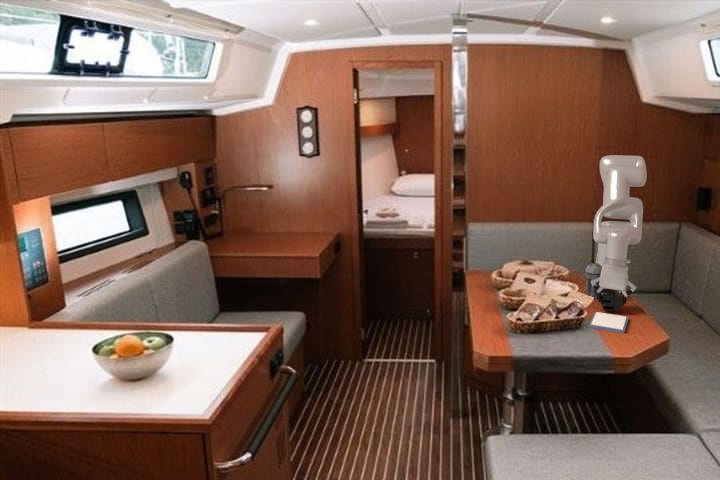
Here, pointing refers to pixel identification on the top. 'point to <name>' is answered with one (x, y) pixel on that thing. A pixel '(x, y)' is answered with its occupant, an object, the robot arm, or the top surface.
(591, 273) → the beverage cup
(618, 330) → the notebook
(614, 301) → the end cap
